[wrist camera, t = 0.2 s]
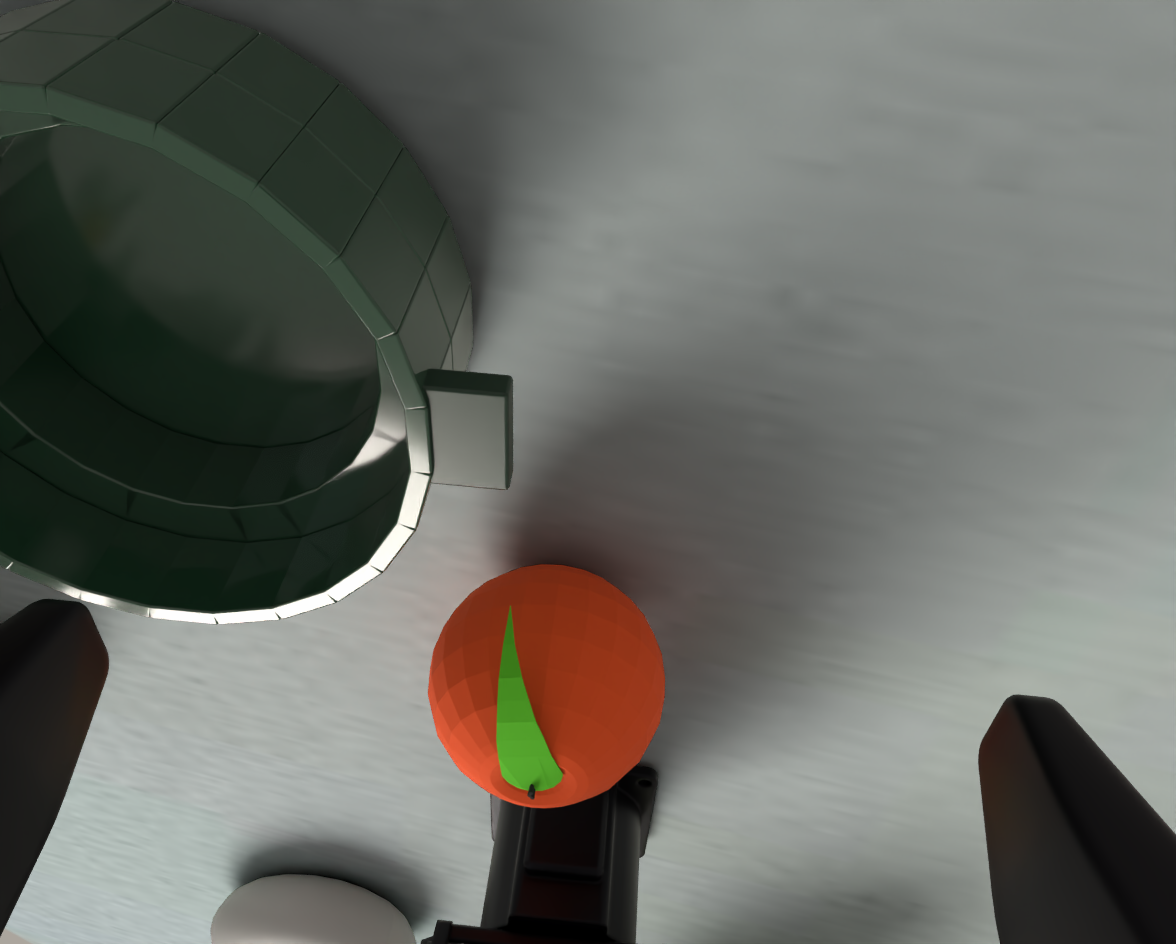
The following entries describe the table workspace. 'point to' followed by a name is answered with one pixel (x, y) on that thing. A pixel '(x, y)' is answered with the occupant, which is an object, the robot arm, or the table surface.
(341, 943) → the donut
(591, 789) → the clementine
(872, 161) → the table surface
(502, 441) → the colander handles
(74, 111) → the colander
